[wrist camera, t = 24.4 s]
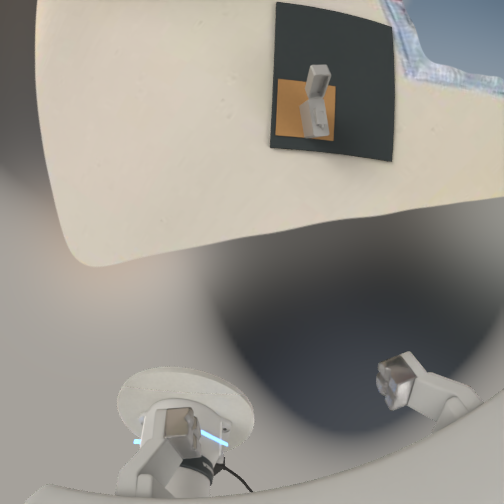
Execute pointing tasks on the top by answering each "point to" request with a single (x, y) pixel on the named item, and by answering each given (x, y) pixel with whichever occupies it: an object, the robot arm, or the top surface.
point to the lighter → (315, 102)
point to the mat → (334, 81)
